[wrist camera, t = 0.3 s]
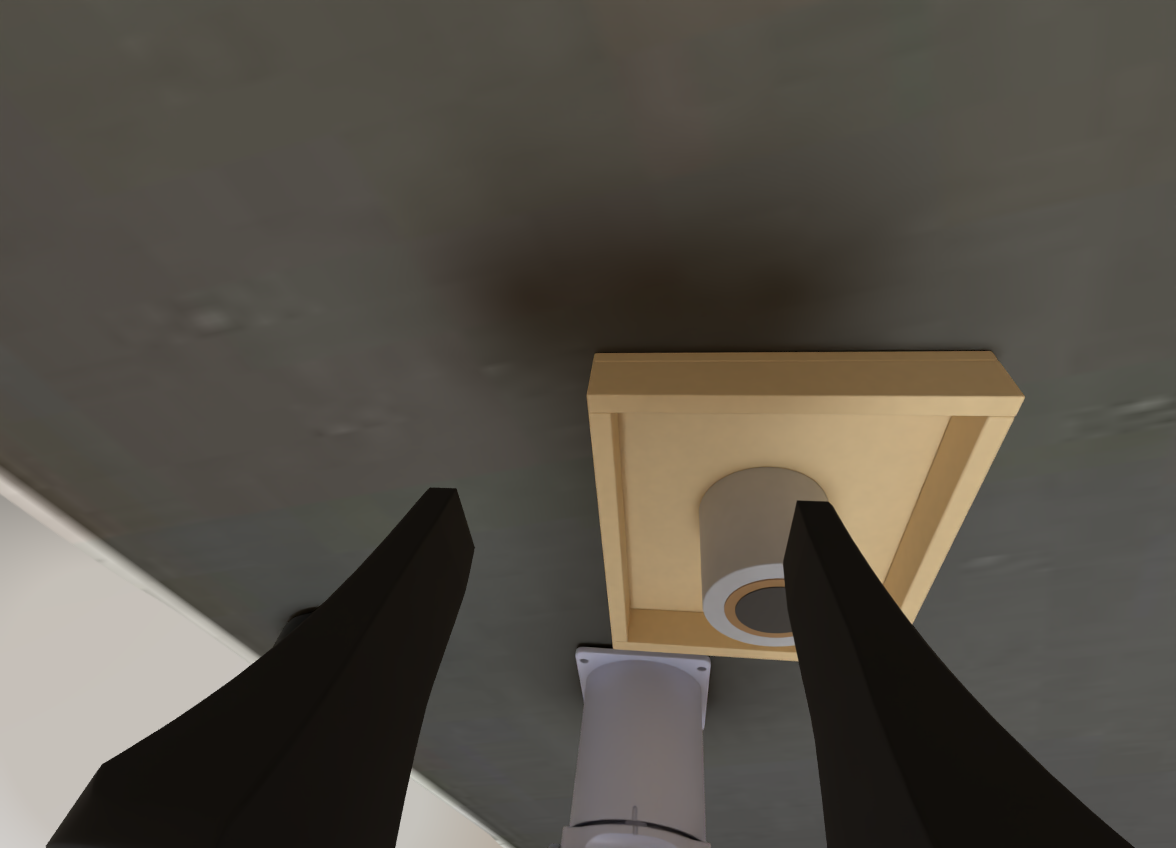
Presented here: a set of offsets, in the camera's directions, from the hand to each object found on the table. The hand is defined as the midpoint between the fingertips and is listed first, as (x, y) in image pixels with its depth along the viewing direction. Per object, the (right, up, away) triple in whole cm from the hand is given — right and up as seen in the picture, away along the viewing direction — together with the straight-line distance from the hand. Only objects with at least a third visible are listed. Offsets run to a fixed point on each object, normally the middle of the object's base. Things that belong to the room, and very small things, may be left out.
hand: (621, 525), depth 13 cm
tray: (+7, -2, +13) cm, 15 cm away
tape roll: (+7, -2, +13) cm, 15 cm away
